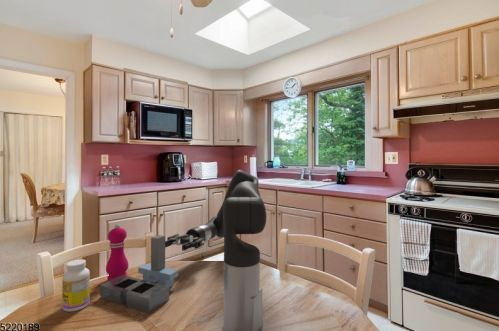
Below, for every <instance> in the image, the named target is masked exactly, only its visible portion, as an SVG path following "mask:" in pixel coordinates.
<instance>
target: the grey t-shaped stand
mask: <svg viewBox="0 0 499 331" xmlns="http://www.w3.org/2000/svg"><path fill="white" fill-rule="evenodd" d="M165 241H166V236H165V235H161V234H158V235H154V236H152V237H151V238H150V263H148V262H147V263H145V264H143V265H140V266H138V272H137V273H138V274H141V275H142V280H145V281H149V282H153V283H157V282H158V283H157V284H161V285H165V286H169V289H170V288H171V287H173V286H174V283H175V282H174V281H175V280H174V279H176V278H177V277H179V269H174V268H172V267H171V268H170V267H166V247H165Z"/></svg>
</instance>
